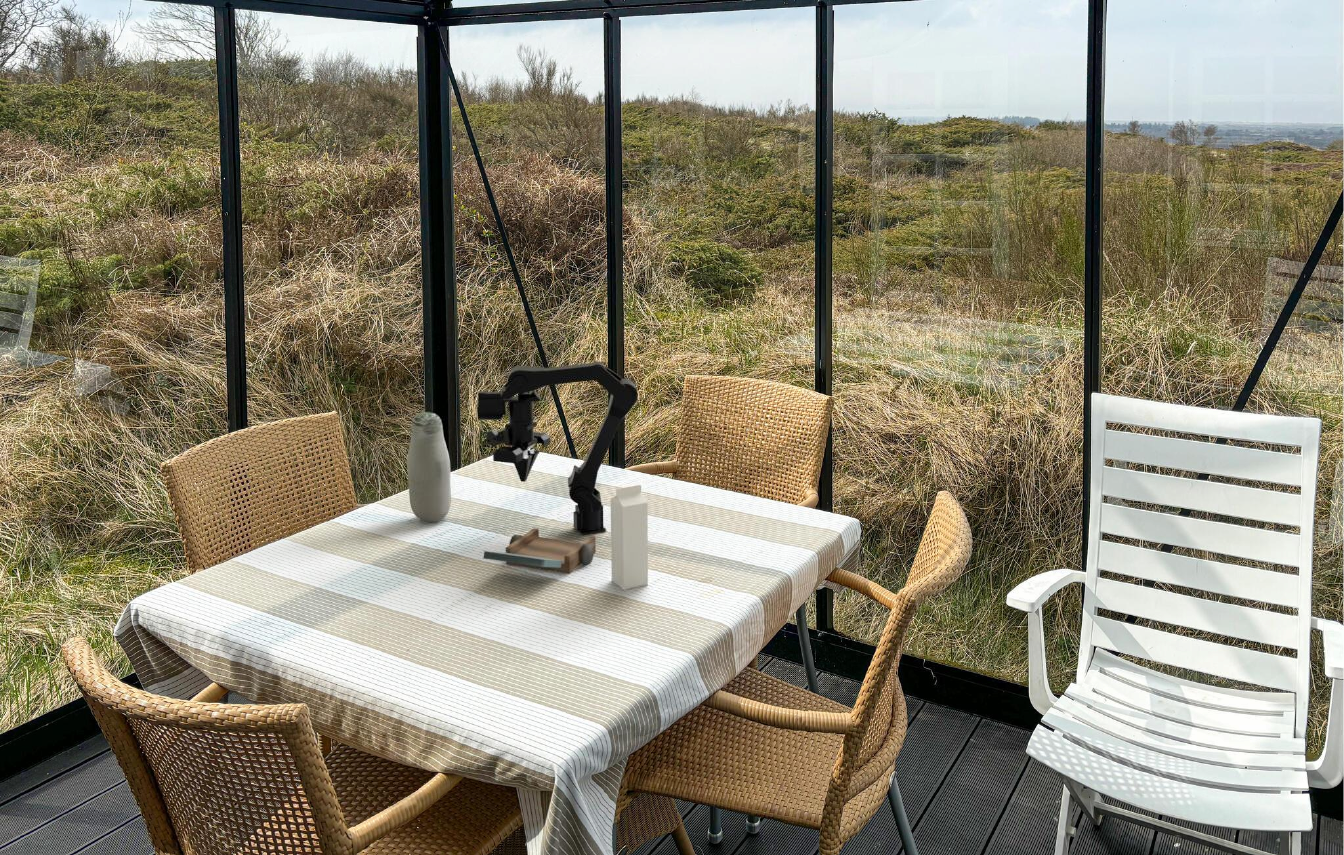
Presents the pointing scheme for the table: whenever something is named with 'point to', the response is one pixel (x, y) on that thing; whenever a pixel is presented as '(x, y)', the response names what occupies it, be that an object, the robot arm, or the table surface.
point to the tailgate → (522, 559)
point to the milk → (629, 538)
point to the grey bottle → (428, 469)
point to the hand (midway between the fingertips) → (523, 481)
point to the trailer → (552, 550)
